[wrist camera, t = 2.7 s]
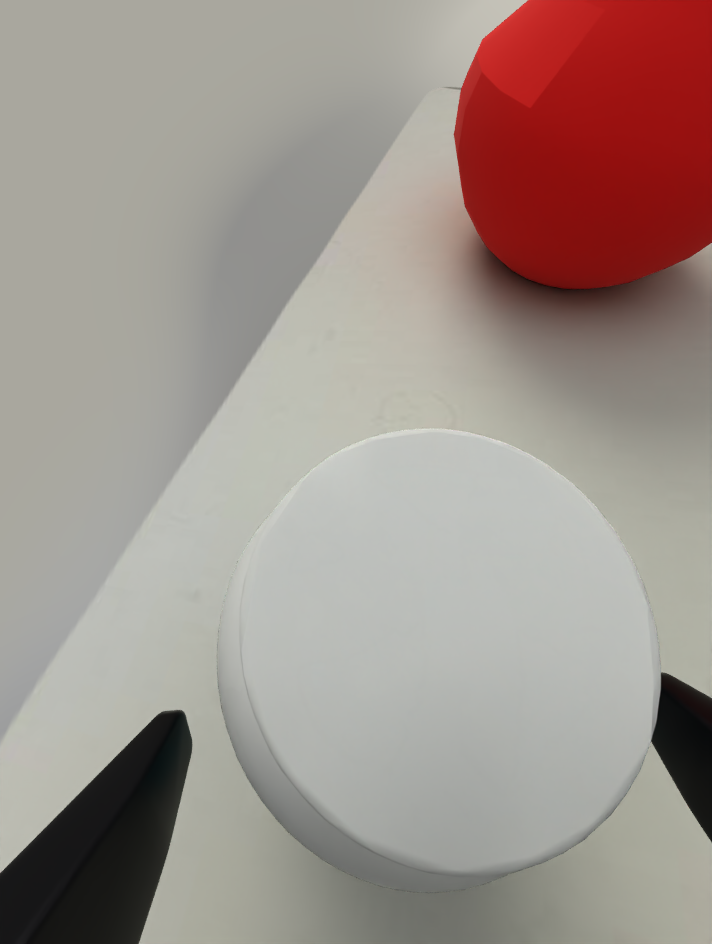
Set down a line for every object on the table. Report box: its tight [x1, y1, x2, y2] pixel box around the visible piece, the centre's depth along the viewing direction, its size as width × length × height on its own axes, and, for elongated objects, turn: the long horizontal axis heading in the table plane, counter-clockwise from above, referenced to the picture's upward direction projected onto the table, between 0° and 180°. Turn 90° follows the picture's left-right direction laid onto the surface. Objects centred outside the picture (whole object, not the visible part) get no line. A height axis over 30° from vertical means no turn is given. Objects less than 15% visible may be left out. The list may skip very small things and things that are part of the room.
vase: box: [454, 0, 712, 289], centre depth 20 cm, size 18×18×19 cm
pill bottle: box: [217, 428, 661, 893], centre depth 10 cm, size 8×7×14 cm
